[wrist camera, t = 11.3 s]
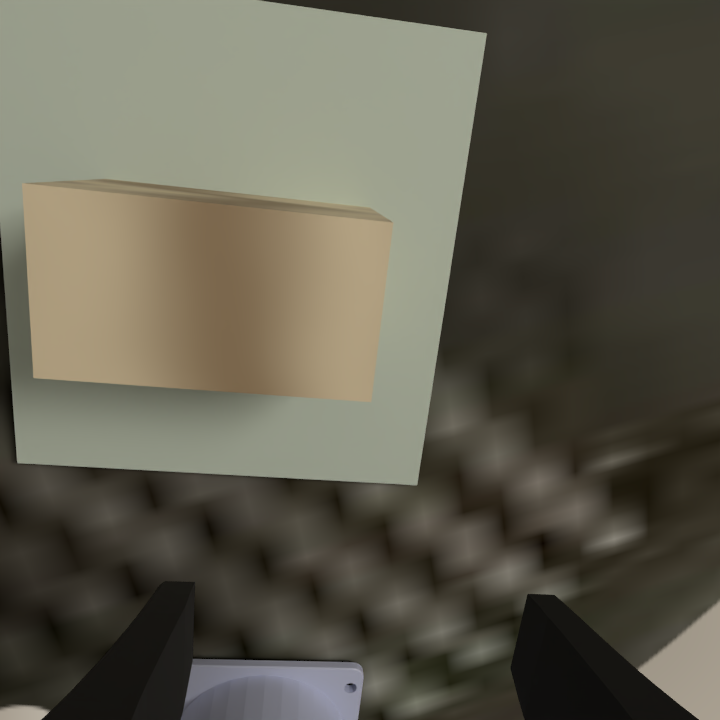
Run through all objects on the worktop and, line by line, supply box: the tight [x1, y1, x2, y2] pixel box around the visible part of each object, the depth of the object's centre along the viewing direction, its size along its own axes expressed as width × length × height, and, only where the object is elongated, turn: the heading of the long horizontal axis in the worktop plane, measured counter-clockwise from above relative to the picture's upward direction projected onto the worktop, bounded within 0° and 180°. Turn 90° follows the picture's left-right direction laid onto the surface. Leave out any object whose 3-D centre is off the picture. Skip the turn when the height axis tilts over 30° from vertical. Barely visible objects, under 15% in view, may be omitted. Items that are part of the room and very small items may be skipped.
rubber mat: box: [0, 0, 487, 485], centre depth 19 cm, size 15×14×1 cm
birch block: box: [22, 179, 393, 402], centre depth 16 cm, size 8×4×6 cm, turn 84°
